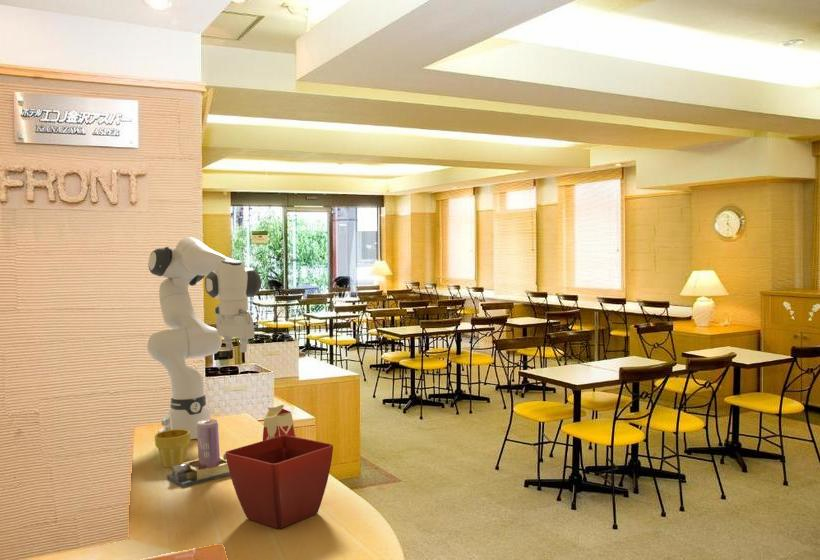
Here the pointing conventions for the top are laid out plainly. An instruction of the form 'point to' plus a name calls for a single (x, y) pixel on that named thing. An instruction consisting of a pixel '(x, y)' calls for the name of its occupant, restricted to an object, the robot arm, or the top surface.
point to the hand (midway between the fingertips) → (236, 350)
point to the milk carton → (278, 423)
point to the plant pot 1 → (172, 446)
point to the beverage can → (208, 443)
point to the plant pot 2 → (280, 478)
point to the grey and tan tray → (197, 472)
